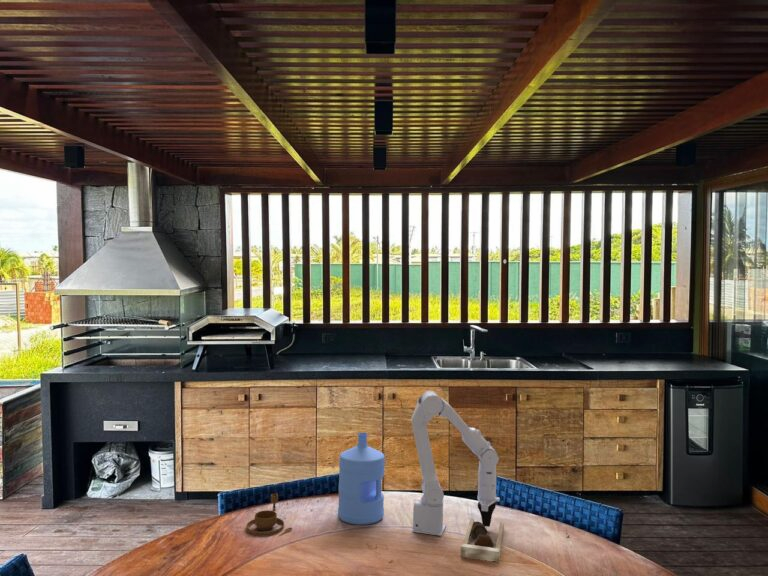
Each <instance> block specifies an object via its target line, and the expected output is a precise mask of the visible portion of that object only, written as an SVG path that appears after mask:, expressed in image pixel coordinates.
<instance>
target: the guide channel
mask: <svg viewBox="0 0 768 576" xmlns="http://www.w3.org/2000/svg"><path fill="white" fill-rule="evenodd" d="M474 522H475V518H472V517H470V520H469V523H468V526H467V529H466V532H465V535H464V538H463V542H462V543H461V545H460V557H461V558H465V557H466V559H472V558H474V560H479V559H480V560H481V561H485V560H487V561H486V562H492V561H496V562H495V563H499V562H500V557H501V551H500V550H502V549H501V548H502V544H503V543H502V542H503V538H504V537H503V536H504V530H505V522H504V521H499V527H498V533H497V539H496V544H495V547H493V548H490V547H483V546H476V545H475V544H470V541H471V538H472V535H473V533H472V531H471V530H472V528H473V524H474ZM470 537H471V538H470Z"/></svg>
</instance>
